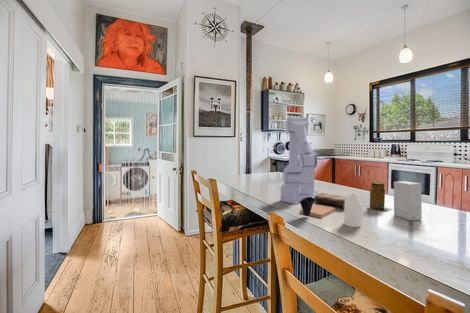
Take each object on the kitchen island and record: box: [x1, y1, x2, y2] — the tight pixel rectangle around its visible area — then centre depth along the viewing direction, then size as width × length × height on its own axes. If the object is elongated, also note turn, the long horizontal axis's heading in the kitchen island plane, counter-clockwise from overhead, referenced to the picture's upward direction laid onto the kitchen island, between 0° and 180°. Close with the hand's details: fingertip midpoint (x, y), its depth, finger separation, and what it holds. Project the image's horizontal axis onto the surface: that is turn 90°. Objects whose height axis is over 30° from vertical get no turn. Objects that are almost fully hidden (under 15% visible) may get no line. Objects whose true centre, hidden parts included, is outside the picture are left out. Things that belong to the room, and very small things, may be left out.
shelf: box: [313, 192, 349, 211], centre depth 121 cm, size 15×8×4 cm, turn 46°
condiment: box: [365, 181, 392, 212], centre depth 115 cm, size 7×8×12 cm
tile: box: [299, 203, 336, 219], centre depth 110 cm, size 10×14×2 cm
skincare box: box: [393, 180, 423, 221], centre depth 101 cm, size 8×6×15 cm
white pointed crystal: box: [343, 193, 363, 228], centre depth 93 cm, size 6×12×6 cm
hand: (306, 215), depth 102 cm, fingers closed
